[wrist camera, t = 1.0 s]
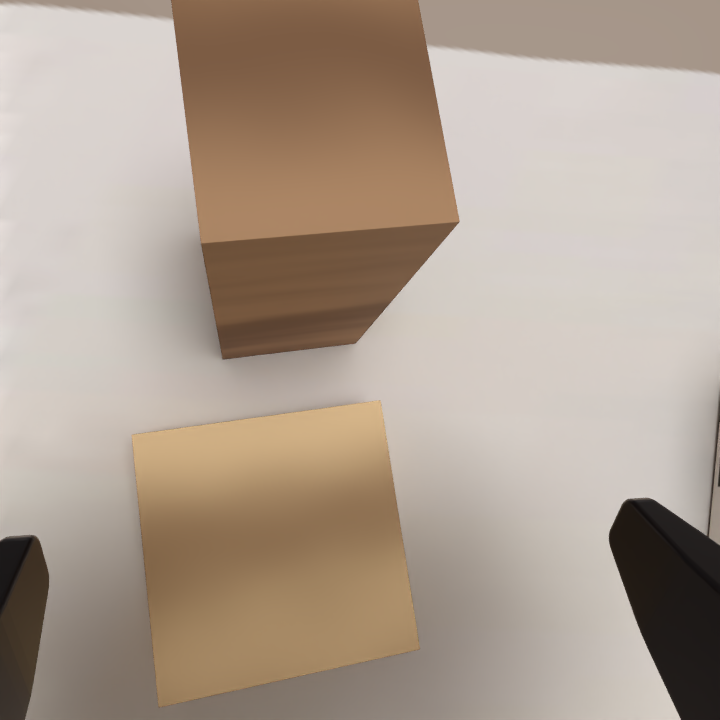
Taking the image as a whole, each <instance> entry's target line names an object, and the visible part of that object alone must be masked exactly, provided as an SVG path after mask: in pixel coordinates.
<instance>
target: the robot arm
mask: <svg viewBox="0 0 720 720" xmlns="http://www.w3.org/2000/svg"><path fill="white" fill-rule="evenodd" d="M609 543H610V548H611V551H612V553H613V556H614V559H615V562H616V565H617V568H618V570H619V573H620V576H621V579H622V582H623V585H624V587H625V590H626V593H627V596H628V599H629V602H630V604H631V607H632V610H633V613H634V616H635V619H636V621H637V624H638V626H639V629H640V632H641V634H642V636H643V639H644V641H645V643H646V645H647V648H648V650H649V652H650V654H651V656H652V658H653V661H654V663H655V665H656V667H657V669H658V671H659V673H660V676H661V678H662V680H663V682H664V684H665V686H666V688H667V691H668V693H669V695H670V697H671V699H672V701H673V703H674V706H675V708H676V710H677V712H678V714H679V716H680V718H681V720H720V545H719V544H718V543H716V542H715V541H713V540H712V539H710V538H709V537H707V536H706V535H704V534H703V533H702V532H700V531H699V530H697V529H696V528H694V527H693V526H691V525H690V524H688V523H687V522H686V521H684V520H683V519H681V518H680V517H678V516H677V515H675V514H674V513H672V512H671V511H670V510H668V509H667V508H665V507H664V506H662V505H661V504H659V503H658V502H656V501H655V500H653V499H650V498H634V499H627V500H626V501H624V502H623V504H622V506H621V508H620V510H619V512H618V514H617V516H616V519H615V521H614V523H613V525H612V527H611V529H610V533H609ZM48 589H49V573H48V569H47V565H46V562H45V558H44V555H43V551H42V548H41V544H40V541H39V539H38V538H37V537H36V536H34V535H24V536H9V537H6V538H4V539H2V540H1V541H0V720H25V717H26V713H27V709H28V705H29V701H30V697H31V692H32V686H33V681H34V675H35V669H36V663H37V657H38V651H39V644H40V638H41V632H42V626H43V620H44V614H45V608H46V601H47V595H48Z"/></svg>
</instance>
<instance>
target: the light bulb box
mask: <svg viewBox="0 0 720 720" xmlns="http://www.w3.org/2000/svg"><path fill="white" fill-rule="evenodd" d="M709 538H710V539H712V540H713V541H715V542H716V543H718V544H719V545H720V424H719V434H718V444H717V455H716V465H715V476H714V488H713V498H712V508H711V519H710V529H709Z"/></svg>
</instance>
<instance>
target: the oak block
mask: <svg viewBox="0 0 720 720" xmlns="http://www.w3.org/2000/svg"><path fill="white" fill-rule="evenodd" d="M132 444H133V454H134V464H135V474H136V484H137V494H138V505H139V515H140V525H141V535H142V545H143V555H144V565H145V575H146V585H147V596H148V606H149V616H150V626H151V636H152V646H153V656H154V666H155V676H156V686H157V697H158V707H164V706H168V705H173V704H177V703H182V702H186V701H190V700H195V699H199V698H204V697H208V696H213V695H217V694H222V693H226V692H231V691H235V690H240V689H244V688H249V687H253V686H258V685H262V684H267V683H271V682H276V681H280V680H285V679H289V678H294V677H298V676H303V675H307V674H312V673H316V672H321V671H325V670H330V669H334V668H339V667H343V666H348V665H352V664H357V663H361V662H366V661H370V660H374V659H379V658H383V657H388V656H392V655H397V654H401V653H406V652H410V651H415V650H419V649H420V646H419V640H418V634H417V627H416V621H415V615H414V608H413V602H412V596H411V590H410V583H409V577H408V571H407V564H406V558H405V552H404V546H403V539H402V533H401V527H400V520H399V514H398V508H397V502H396V495H395V489H394V483H393V476H392V470H391V464H390V458H389V451H388V445H387V439H386V432H385V426H384V420H383V414H382V407H381V401H372V402H365V403H358V404H351V405H343V406H336V407H329V408H322V409H315V410H307V411H300V412H293V413H286V414H279V415H271V416H264V417H257V418H250V419H243V420H235V421H228V422H221V423H214V424H207V425H199V426H192V427H185V428H178V429H170V430H163V431H156V432H149V433H142V434H134V435H132Z"/></svg>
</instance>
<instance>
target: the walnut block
mask: <svg viewBox="0 0 720 720" xmlns="http://www.w3.org/2000/svg"><path fill="white" fill-rule="evenodd" d="M171 3H172V11H173V19H174V27H175V35H176V43H177V52H178V60H179V68H180V76H181V84H182V92H183V100H184V109H185V117H186V125H187V133H188V141H189V149H190V157H191V166H192V174H193V182H194V190H195V198H196V206H197V214H198V223H199V231H200V239H201V246H202V251H203V256H204V262H205V267H206V273H207V278H208V283H209V289H210V294H211V299H212V305H213V310H214V315H215V321H216V326H217V332H218V337H219V342H220V348H221V353H222V358H223V359H230V358H238V357H247V356H255V355H263V354H272V353H280V352H288V351H296V350H305V349H313V348H321V347H330V346H338V345H346V344H354V343H356V342H357V341H358V340H359V339H360V338H361V336H362V335H363V334H364V333H365V332H366V331H367V329H368V328H369V327H370V326H371V325H372V324H373V322H374V321H375V320H376V319H377V318H378V317H379V315H380V314H381V313H382V312H383V311H384V310H385V308H386V307H387V306H388V305H389V304H390V303H391V301H392V300H393V299H394V298H395V297H396V296H397V294H398V293H399V292H400V291H401V290H402V289H403V287H404V286H405V285H406V284H407V283H408V281H409V280H410V279H411V278H412V277H413V276H414V274H415V273H416V272H417V271H418V270H419V269H420V267H421V266H422V265H423V264H424V263H425V262H426V260H427V259H428V258H429V257H430V256H431V255H432V253H433V252H434V251H435V250H436V249H437V248H438V246H439V245H440V244H441V243H442V242H443V241H444V239H445V238H446V237H447V236H448V235H449V234H450V232H451V231H452V230H453V229H454V228H455V227H456V225H457V224H458V223H459V222H460V221H459V216H458V211H457V205H456V200H455V195H454V189H453V184H452V179H451V173H450V168H449V163H448V158H447V152H446V147H445V142H444V136H443V131H442V126H441V120H440V115H439V110H438V104H437V99H436V94H435V88H434V83H433V78H432V72H431V67H430V62H429V56H428V51H427V46H426V41H425V35H424V30H423V25H422V20H421V14H420V9H419V3H418V0H171Z"/></svg>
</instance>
